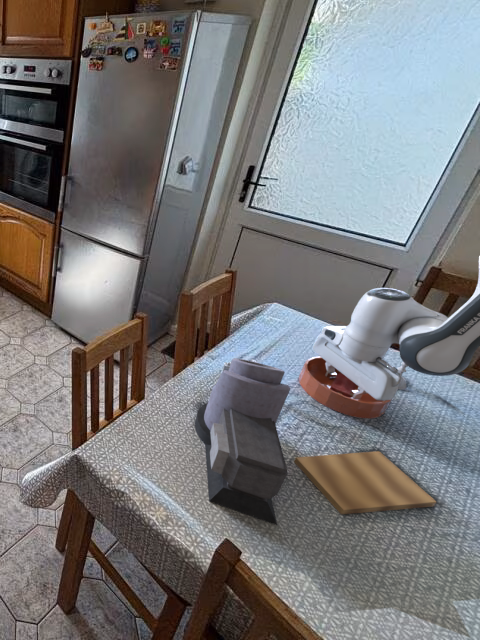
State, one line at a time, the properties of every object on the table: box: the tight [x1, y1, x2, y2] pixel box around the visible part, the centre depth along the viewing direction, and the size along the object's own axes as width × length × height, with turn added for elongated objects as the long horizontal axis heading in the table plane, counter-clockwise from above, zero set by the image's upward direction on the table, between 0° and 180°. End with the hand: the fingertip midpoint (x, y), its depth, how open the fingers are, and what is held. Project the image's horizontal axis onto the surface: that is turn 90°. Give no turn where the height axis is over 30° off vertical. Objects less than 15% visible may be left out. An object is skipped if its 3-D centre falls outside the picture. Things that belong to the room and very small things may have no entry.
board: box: [293, 450, 437, 515], centre depth 88 cm, size 20×12×2 cm, turn 94°
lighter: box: [220, 359, 257, 374], centre depth 115 cm, size 7×2×8 cm, turn 58°
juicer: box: [194, 357, 291, 526], centre depth 89 cm, size 30×16×24 cm, turn 155°
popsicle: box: [330, 373, 356, 398], centre depth 111 cm, size 4×2×15 cm
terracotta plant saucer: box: [298, 355, 393, 420], centre depth 110 cm, size 18×18×5 cm
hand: (341, 387), depth 111 cm, fingers closed on popsicle, 6 cm apart
